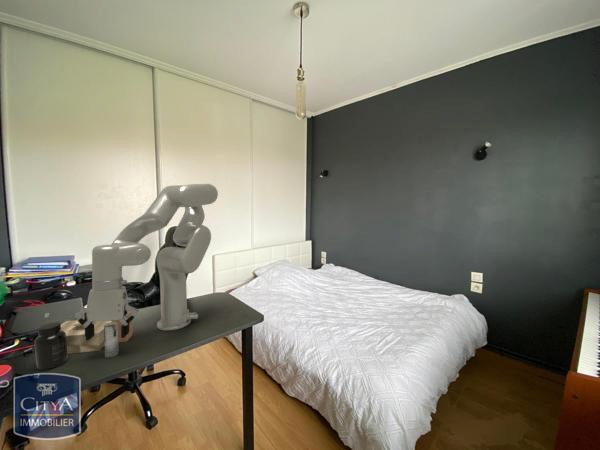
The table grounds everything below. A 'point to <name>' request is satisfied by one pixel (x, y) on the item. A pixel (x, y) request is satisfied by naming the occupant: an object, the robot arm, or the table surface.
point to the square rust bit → (120, 330)
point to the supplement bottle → (50, 346)
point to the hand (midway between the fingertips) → (107, 337)
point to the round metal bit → (111, 339)
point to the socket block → (83, 336)
